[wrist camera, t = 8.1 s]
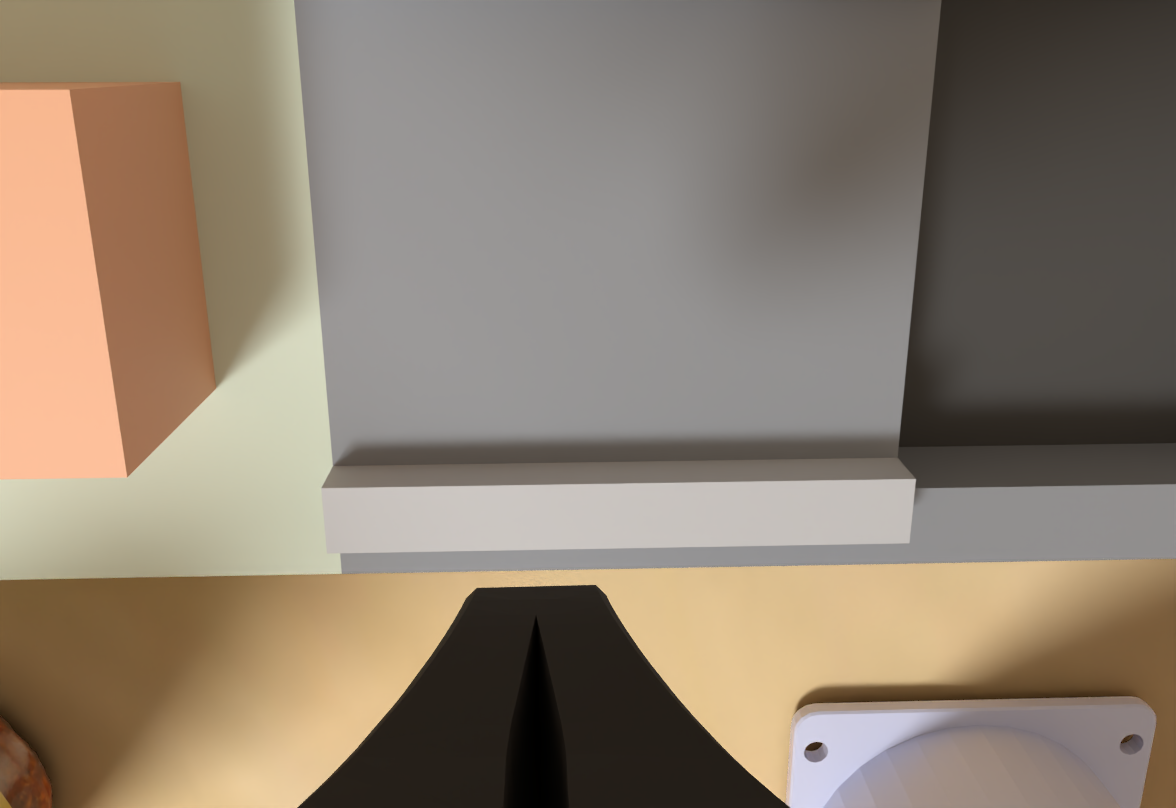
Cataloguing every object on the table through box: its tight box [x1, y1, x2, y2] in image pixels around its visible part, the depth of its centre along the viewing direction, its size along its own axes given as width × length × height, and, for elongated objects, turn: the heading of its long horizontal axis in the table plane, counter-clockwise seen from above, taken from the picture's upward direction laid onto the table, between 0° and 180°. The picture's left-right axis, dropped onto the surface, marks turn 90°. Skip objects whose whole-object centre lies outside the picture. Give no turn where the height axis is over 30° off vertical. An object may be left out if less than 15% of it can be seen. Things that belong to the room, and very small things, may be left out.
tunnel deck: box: [0, 0, 1176, 580], centre depth 18 cm, size 12×30×4 cm, turn 90°
